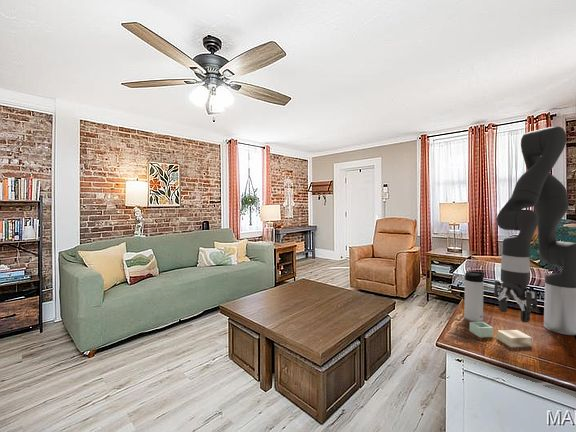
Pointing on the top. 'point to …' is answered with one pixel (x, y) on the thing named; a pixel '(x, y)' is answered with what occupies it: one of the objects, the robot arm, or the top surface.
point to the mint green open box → (481, 329)
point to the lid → (514, 338)
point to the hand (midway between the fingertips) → (513, 316)
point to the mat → (513, 347)
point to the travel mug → (473, 296)
